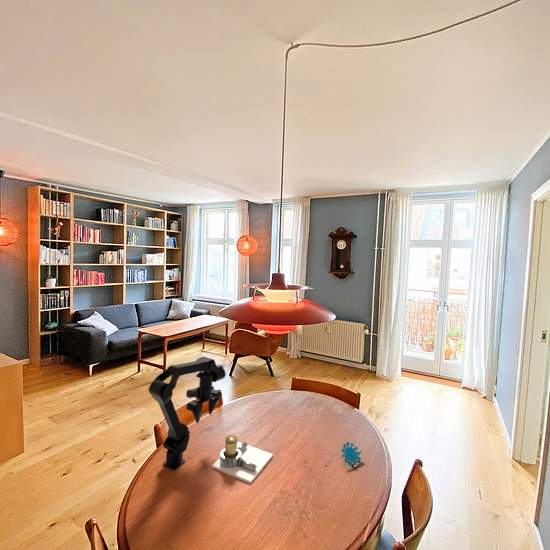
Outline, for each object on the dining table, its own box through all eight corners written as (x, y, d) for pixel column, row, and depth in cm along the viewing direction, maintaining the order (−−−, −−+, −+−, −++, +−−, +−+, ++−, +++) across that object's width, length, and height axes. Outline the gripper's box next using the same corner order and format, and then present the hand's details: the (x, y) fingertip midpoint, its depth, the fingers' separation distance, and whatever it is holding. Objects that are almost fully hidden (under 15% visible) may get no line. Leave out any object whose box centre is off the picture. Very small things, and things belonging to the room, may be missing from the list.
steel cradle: (249, 478, 126) (250, 468, 125) (215, 464, 133) (216, 455, 132) (268, 456, 140) (268, 447, 140) (236, 444, 147) (237, 436, 147)
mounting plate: (250, 483, 123) (250, 481, 123) (212, 467, 131) (212, 465, 131) (273, 456, 141) (273, 454, 141) (237, 443, 149) (237, 441, 149)
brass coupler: (232, 466, 131) (233, 442, 131) (221, 462, 133) (223, 439, 133) (238, 459, 136) (239, 436, 136) (228, 456, 138) (229, 433, 138)
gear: (347, 467, 134) (340, 442, 141) (339, 471, 138) (332, 446, 144) (366, 465, 140) (358, 440, 146) (358, 468, 143) (351, 444, 150)
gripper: (204, 374, 156) (202, 405, 157) (177, 387, 139) (175, 422, 140) (223, 380, 152) (221, 411, 152) (197, 393, 135) (195, 429, 136)
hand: (203, 418), depth 145 cm, fingers open, 9 cm apart
